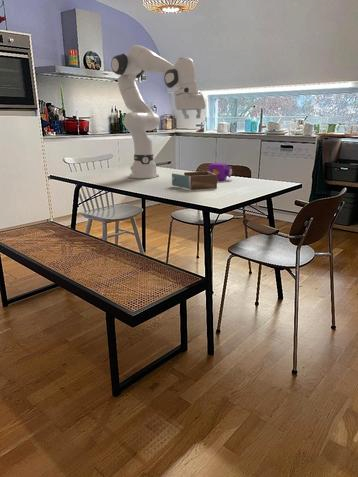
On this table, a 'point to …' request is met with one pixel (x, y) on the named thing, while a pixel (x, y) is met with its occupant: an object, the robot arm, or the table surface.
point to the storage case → (202, 180)
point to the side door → (181, 181)
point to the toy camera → (220, 170)
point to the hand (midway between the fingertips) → (192, 118)
